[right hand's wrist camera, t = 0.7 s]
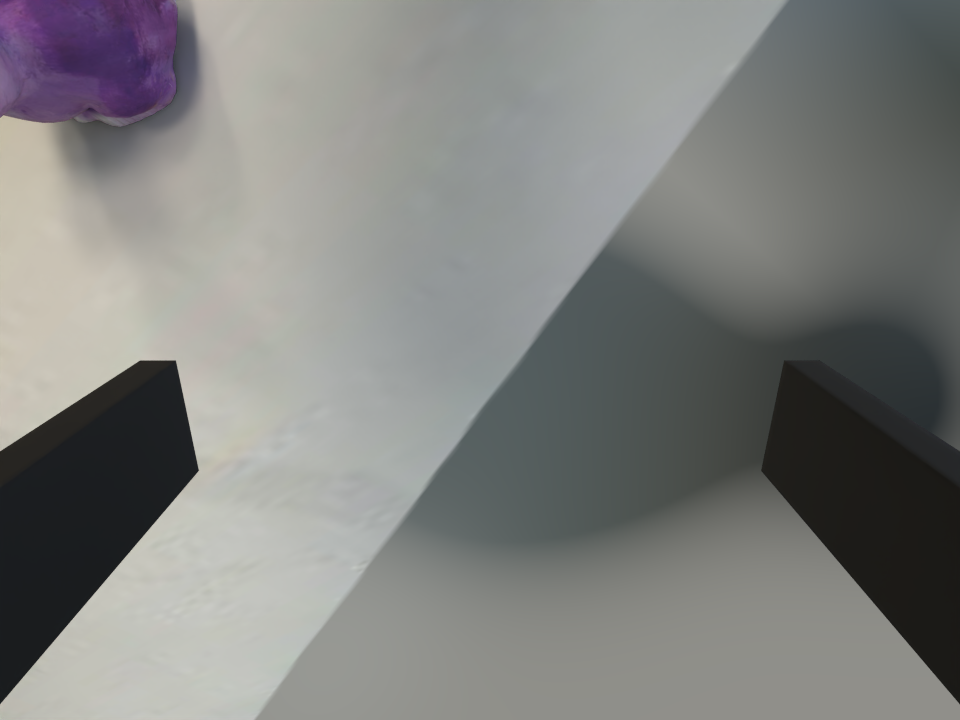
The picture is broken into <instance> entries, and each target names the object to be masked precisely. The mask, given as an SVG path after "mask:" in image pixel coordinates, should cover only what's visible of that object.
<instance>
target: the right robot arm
mask: <svg viewBox="0 0 960 720" xmlns="http://www.w3.org/2000/svg"><path fill="white" fill-rule="evenodd" d="M198 471H199V469H198V465H197V460H196V455H195V450H194V446H193V441H192V436H191V431H190V426H189V422H188V417H187V412H186V407H185V402H184V398H183V393H182V388H181V383H180V378H179V374H178V369H177V364H176V361H139V362H137V363H136V364H134V365H133V366H131V367H130V368H128V369H127V370H125V371H123V372H122V373H120V374H119V375H117V376H116V377H114V378H113V379H111V380H110V381H108V382H107V383H105V384H103V385H102V386H100V387H99V388H97V389H96V390H94V391H93V392H91V393H90V394H88V395H86V396H85V397H83V398H82V399H80V400H79V401H77V402H76V403H74V404H73V405H71V406H70V407H68V408H66V409H65V410H63V411H62V412H60V413H59V414H57V415H56V416H54V417H53V418H51V419H50V420H48V421H46V422H45V423H43V424H42V425H40V426H39V427H37V428H36V429H34V430H33V431H31V432H29V433H28V434H26V435H25V436H23V437H22V438H20V439H19V440H17V441H16V442H14V443H13V444H11V445H9V446H8V447H6V448H5V449H3V450H2V451H0V704H1V702H2V701H3V700H4V699H5V698H6V697H7V695H8V694H9V693H10V692H11V691H12V690H13V688H14V687H15V686H16V685H17V684H18V683H19V681H20V680H21V679H22V678H23V677H24V675H25V674H26V673H27V672H28V671H29V670H30V668H31V667H32V666H33V665H34V664H35V663H36V661H37V660H38V659H39V658H40V657H41V655H42V654H43V653H44V652H45V651H46V650H47V648H48V647H49V646H50V645H51V644H52V643H53V641H54V640H55V639H56V638H57V637H58V636H59V634H60V633H61V632H62V631H63V630H64V628H65V627H66V626H67V625H68V624H69V623H70V621H71V620H72V619H73V618H74V617H75V616H76V614H77V613H78V612H79V611H80V610H81V608H82V607H83V606H84V605H85V604H86V603H87V601H88V600H89V599H90V598H91V597H92V596H93V594H94V593H95V592H96V591H97V590H98V589H99V587H100V586H101V585H102V584H103V583H104V581H105V580H106V579H107V578H108V577H109V576H110V574H111V573H112V572H113V571H114V570H115V569H116V567H117V566H118V565H119V564H120V563H121V561H122V560H123V559H124V558H125V557H126V556H127V554H128V553H129V552H130V551H131V550H132V549H133V547H134V546H135V545H136V544H137V543H138V542H139V540H140V539H141V538H142V537H143V536H144V534H145V533H146V532H147V531H148V530H149V529H150V527H151V526H152V525H153V524H154V523H155V522H156V520H157V519H158V518H159V517H160V516H161V514H162V513H163V512H164V511H165V510H166V509H167V507H168V506H169V505H170V504H171V503H172V502H173V500H174V499H175V498H176V497H177V496H178V495H179V493H180V492H181V491H182V490H183V489H184V487H185V486H186V485H187V484H188V483H189V482H190V480H191V479H192V478H193V477H194V476H195V475H196V473H197V472H198ZM761 471H762V472H763V473H764V475H765V476H766V477H767V478H768V479H769V480H770V482H771V483H772V484H773V485H774V486H775V487H776V489H777V490H778V491H779V492H780V493H781V494H782V496H783V497H784V498H785V499H786V500H787V502H788V503H789V504H790V505H791V506H792V507H793V509H794V510H795V511H796V512H797V513H798V514H799V516H800V517H801V518H802V519H803V520H804V522H805V523H806V524H807V525H808V526H809V527H810V529H811V530H812V531H813V532H814V533H815V534H816V536H817V537H818V538H819V539H820V540H821V542H822V543H823V544H824V545H825V546H826V547H827V549H828V550H829V551H830V552H831V553H832V554H833V556H834V557H835V558H836V559H837V560H838V561H839V563H840V564H841V565H842V566H843V567H844V569H845V570H846V571H847V572H848V573H849V574H850V576H851V577H852V578H853V579H854V580H855V581H856V583H857V584H858V585H859V586H860V587H861V588H862V590H863V591H864V592H865V593H866V594H867V596H868V597H869V598H870V599H871V600H872V601H873V603H874V604H875V605H876V606H877V607H878V608H879V610H880V611H881V612H882V613H883V614H884V615H885V617H886V618H887V619H888V620H889V621H890V623H891V624H892V625H893V626H894V627H895V628H896V630H897V631H898V632H899V633H900V634H901V636H902V637H903V638H904V639H905V640H906V641H907V643H908V644H909V645H910V646H911V647H912V648H913V650H914V651H915V652H916V653H917V654H918V655H919V657H920V658H921V659H922V660H923V661H924V663H925V664H926V665H927V666H928V667H929V668H930V670H931V671H932V672H933V673H934V674H935V675H936V677H937V678H938V679H939V680H940V681H941V683H942V684H943V685H944V686H945V687H946V688H947V690H948V691H949V692H950V693H951V694H952V695H953V697H954V698H955V699H956V700H957V701H958V702H959V704H960V451H958V450H957V449H955V448H954V447H952V446H951V445H949V444H947V443H946V442H944V441H943V440H941V439H940V438H938V437H937V436H935V435H934V434H932V433H931V432H929V431H927V430H926V429H924V428H923V427H921V426H920V425H918V424H917V423H915V422H914V421H912V420H910V419H909V418H907V417H906V416H904V415H903V414H901V413H900V412H898V411H897V410H895V409H894V408H892V407H890V406H889V405H887V404H886V403H884V402H883V401H881V400H880V399H878V398H877V397H875V396H873V395H872V394H870V393H869V392H867V391H866V390H864V389H863V388H861V387H860V386H858V385H856V384H855V383H853V382H852V381H850V380H849V379H847V378H846V377H844V376H843V375H841V374H840V373H838V372H836V371H835V370H833V369H832V368H830V367H829V366H827V365H826V364H824V363H823V362H821V361H784V364H783V369H782V374H781V378H780V383H779V388H778V393H777V398H776V402H775V407H774V412H773V417H772V422H771V427H770V431H769V436H768V441H767V446H766V450H765V455H764V460H763V465H762V470H761Z"/></svg>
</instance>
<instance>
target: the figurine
mask: <svg viewBox="0 0 960 720" xmlns="http://www.w3.org/2000/svg"><path fill="white" fill-rule="evenodd" d="M176 35H177V5H176V0H0V117H2V116H3V115H5V116H9V117H13V118H18V119H22V120H28V121H34V122H42V123H53V122H61V121H66V120H69V119H72V118H73V119H75V120H76V121H77V122H81V123H84V122H91V121H96V120H100V121H102V122H104V123H106V124H108V125H111V126H119V127H121V126H126V125H129V124H132V123H134V122H136V121H140V120H142V119H143V118H146V117H148V116H151V115H153V114H155V113H156V112H157V111H159V110H161V109H163V108H165V107H166V106H167V105H169V104H170V103H171V102H172V100H173V97H174V96H175V94H176V77H175V73H174V70H173V55H174V51H175V47H176Z"/></svg>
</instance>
